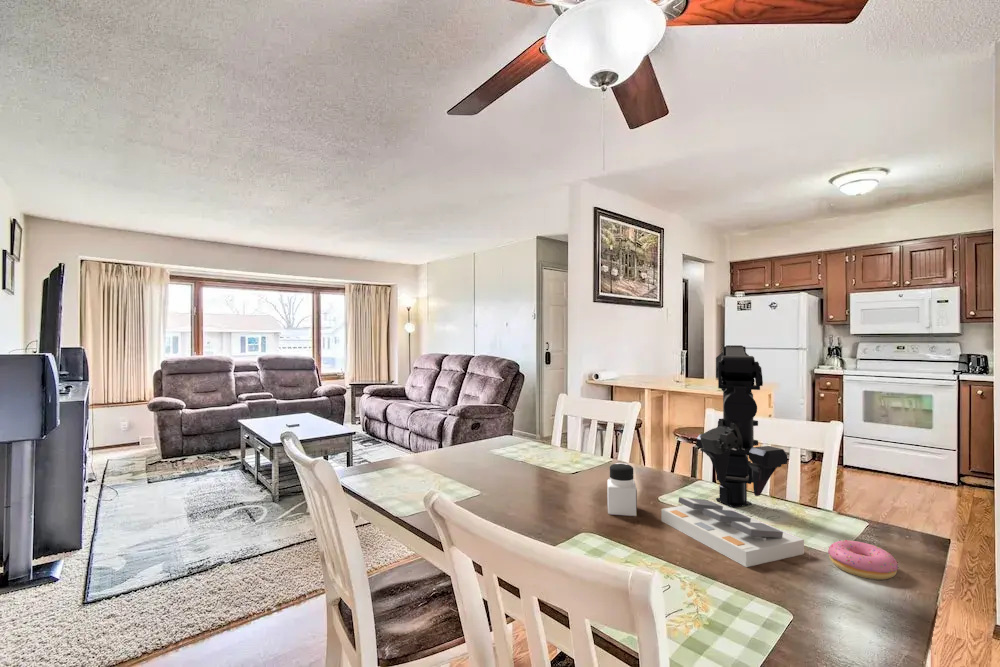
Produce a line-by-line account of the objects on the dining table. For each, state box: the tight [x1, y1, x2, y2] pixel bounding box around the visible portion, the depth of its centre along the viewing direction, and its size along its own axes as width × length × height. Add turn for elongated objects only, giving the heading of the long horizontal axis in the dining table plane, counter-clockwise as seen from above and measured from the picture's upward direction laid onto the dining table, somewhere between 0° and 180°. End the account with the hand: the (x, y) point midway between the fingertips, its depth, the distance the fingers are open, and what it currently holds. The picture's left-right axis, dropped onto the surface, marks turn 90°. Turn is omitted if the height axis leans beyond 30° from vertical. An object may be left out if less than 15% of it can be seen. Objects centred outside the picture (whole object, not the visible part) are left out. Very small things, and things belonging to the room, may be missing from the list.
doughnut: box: [827, 539, 900, 581], centre depth 92 cm, size 11×11×4 cm
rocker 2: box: [731, 521, 783, 538], centre depth 100 cm, size 9×5×1 cm, turn 110°
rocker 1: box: [678, 496, 724, 510], centre depth 115 cm, size 9×5×1 cm, turn 110°
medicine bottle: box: [606, 462, 638, 517], centre depth 123 cm, size 7×7×12 cm
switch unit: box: [660, 500, 805, 568], centre depth 107 cm, size 16×25×4 cm, turn 20°
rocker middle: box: [703, 508, 752, 522], centre depth 107 cm, size 9×5×1 cm, turn 110°
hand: (738, 489), depth 99 cm, fingers open, 9 cm apart
